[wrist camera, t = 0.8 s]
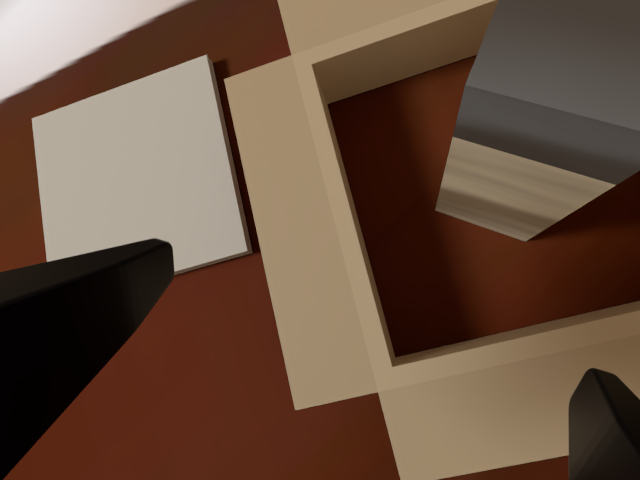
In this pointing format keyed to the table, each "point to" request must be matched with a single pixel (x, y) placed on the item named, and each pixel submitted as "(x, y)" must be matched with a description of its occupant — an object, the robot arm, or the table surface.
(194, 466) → the table surface
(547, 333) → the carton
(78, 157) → the white square tile
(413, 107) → the table surface
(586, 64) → the capped block
